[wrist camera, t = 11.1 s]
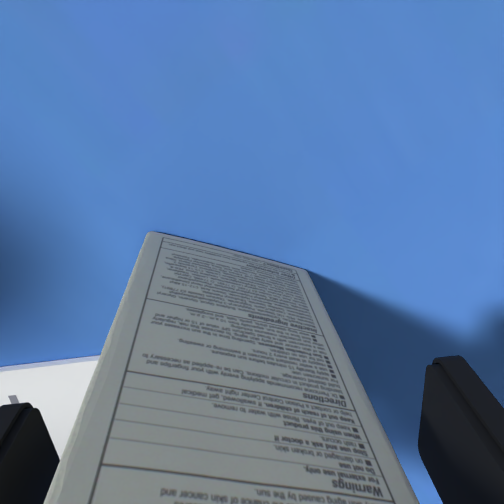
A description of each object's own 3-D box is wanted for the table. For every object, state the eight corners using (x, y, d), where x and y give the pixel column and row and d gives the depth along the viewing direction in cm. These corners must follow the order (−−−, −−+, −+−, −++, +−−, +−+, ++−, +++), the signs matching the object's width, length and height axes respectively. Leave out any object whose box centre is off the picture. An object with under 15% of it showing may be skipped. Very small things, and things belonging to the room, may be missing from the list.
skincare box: (125, 326, 16) (-93, 930, 5) (149, 221, 14) (-101, 781, 3) (279, 358, 17) (390, 904, 6) (318, 265, 15) (571, 783, 4)
